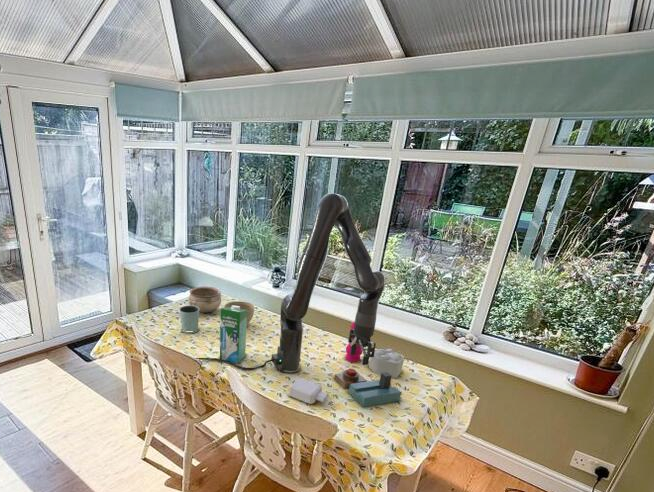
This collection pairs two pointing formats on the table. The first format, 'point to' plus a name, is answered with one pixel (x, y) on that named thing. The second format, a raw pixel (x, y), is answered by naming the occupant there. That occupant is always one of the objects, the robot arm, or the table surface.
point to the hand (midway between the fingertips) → (358, 359)
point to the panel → (349, 379)
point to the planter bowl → (245, 306)
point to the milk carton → (233, 333)
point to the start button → (351, 372)
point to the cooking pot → (205, 298)
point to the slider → (385, 380)
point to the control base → (373, 393)
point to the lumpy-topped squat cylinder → (386, 362)
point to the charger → (307, 391)
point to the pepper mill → (358, 351)
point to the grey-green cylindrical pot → (189, 318)
